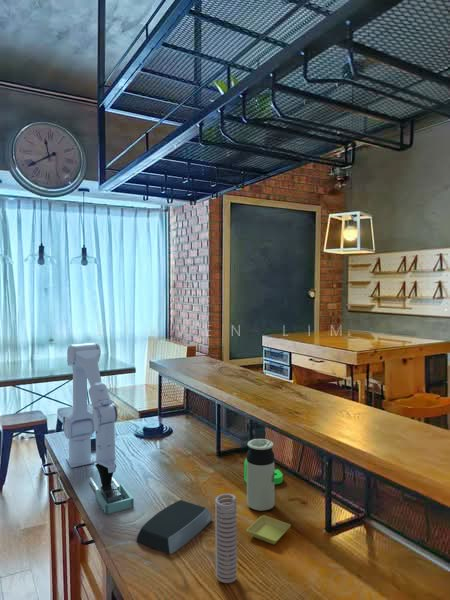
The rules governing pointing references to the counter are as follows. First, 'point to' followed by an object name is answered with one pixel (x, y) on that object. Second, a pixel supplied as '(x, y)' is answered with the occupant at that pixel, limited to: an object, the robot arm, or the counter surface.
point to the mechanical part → (277, 474)
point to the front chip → (112, 496)
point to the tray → (118, 505)
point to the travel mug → (260, 474)
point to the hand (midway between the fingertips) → (106, 486)
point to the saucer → (268, 529)
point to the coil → (226, 538)
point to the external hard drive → (174, 526)
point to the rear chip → (107, 488)
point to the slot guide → (97, 487)
